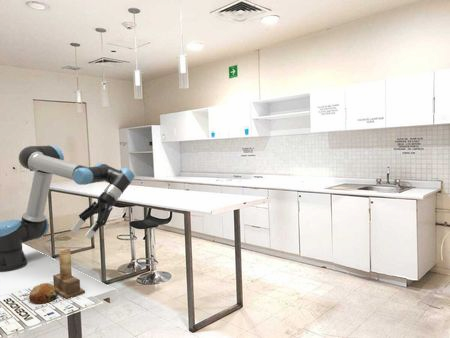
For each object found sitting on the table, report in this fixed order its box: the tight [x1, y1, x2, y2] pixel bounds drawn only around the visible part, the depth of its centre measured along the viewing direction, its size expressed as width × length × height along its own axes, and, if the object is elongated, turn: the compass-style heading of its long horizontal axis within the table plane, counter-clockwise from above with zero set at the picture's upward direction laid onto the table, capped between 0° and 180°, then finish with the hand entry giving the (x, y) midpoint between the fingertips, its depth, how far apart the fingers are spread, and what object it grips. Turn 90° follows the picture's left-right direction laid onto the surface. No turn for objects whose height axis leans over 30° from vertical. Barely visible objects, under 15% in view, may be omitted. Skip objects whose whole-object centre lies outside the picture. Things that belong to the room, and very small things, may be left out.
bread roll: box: [28, 282, 58, 305], centre depth 141 cm, size 10×10×8 cm
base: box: [52, 273, 86, 300], centre depth 148 cm, size 16×8×6 cm, turn 49°
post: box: [58, 247, 73, 279], centre depth 147 cm, size 4×4×12 cm
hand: (80, 234), depth 152 cm, fingers open, 13 cm apart
